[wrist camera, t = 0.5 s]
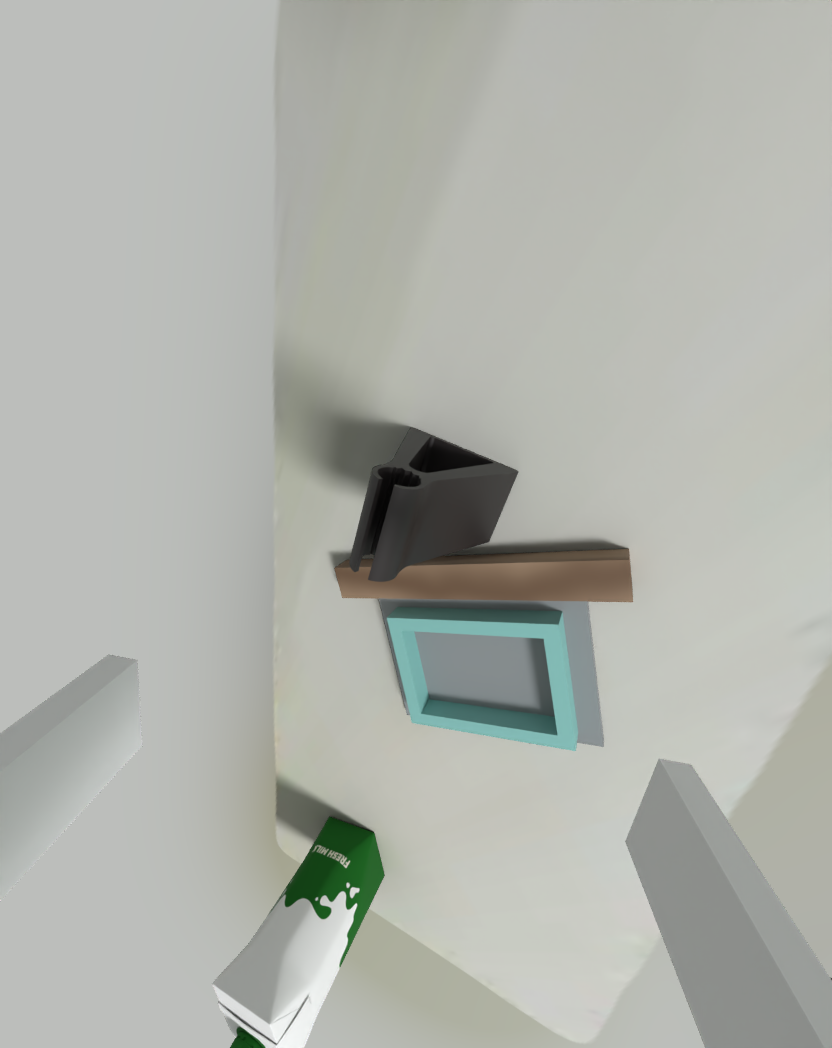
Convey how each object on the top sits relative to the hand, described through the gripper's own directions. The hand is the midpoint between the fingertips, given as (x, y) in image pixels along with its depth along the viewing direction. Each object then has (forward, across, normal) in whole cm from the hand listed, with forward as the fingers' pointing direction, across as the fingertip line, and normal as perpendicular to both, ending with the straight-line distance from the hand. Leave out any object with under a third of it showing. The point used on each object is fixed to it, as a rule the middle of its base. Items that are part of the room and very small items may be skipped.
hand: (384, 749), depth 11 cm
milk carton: (+31, -3, -47) cm, 56 cm away
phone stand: (+24, +1, +2) cm, 24 cm away
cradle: (+24, +7, -12) cm, 27 cm away
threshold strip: (+24, +4, -5) cm, 24 cm away
